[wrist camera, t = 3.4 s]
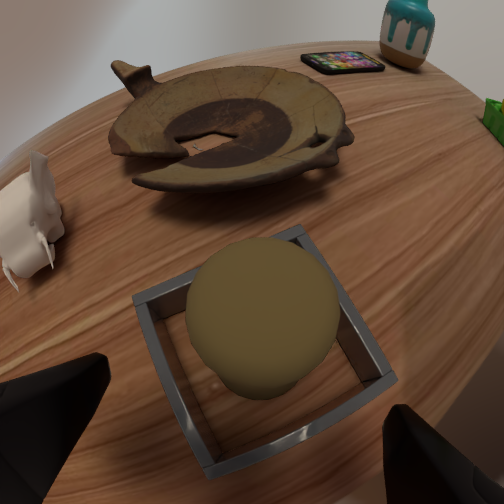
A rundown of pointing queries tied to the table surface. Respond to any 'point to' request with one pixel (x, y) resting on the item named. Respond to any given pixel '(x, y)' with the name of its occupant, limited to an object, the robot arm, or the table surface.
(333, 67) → the smartphone
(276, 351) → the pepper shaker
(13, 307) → the table surface
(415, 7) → the vase
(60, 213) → the elephant figurine
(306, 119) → the brown shallow dish
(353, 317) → the holder
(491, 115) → the fruit basket
